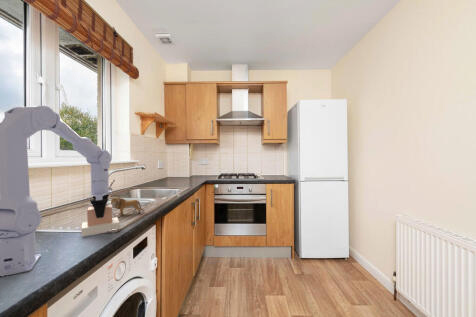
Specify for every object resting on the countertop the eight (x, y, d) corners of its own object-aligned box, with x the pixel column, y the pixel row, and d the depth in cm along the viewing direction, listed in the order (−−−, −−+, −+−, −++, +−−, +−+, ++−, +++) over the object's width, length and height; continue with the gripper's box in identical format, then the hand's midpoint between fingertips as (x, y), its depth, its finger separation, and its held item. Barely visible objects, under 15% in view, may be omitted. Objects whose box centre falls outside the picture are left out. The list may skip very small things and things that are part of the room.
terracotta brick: (112, 222, 83) (112, 207, 83) (87, 225, 79) (87, 210, 79) (112, 219, 87) (112, 204, 87) (88, 222, 83) (88, 207, 83)
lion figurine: (111, 217, 100) (110, 198, 100) (111, 214, 104) (110, 196, 104) (144, 212, 107) (144, 195, 107) (143, 210, 112) (143, 193, 112)
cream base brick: (119, 231, 83) (119, 222, 83) (81, 238, 77) (81, 228, 77) (117, 225, 90) (117, 217, 90) (82, 231, 83) (82, 222, 83)
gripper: (111, 182, 79) (112, 218, 79) (112, 178, 91) (112, 209, 92) (88, 183, 75) (89, 221, 75) (92, 179, 88) (92, 211, 88)
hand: (100, 215), depth 83 cm, fingers open, 7 cm apart
